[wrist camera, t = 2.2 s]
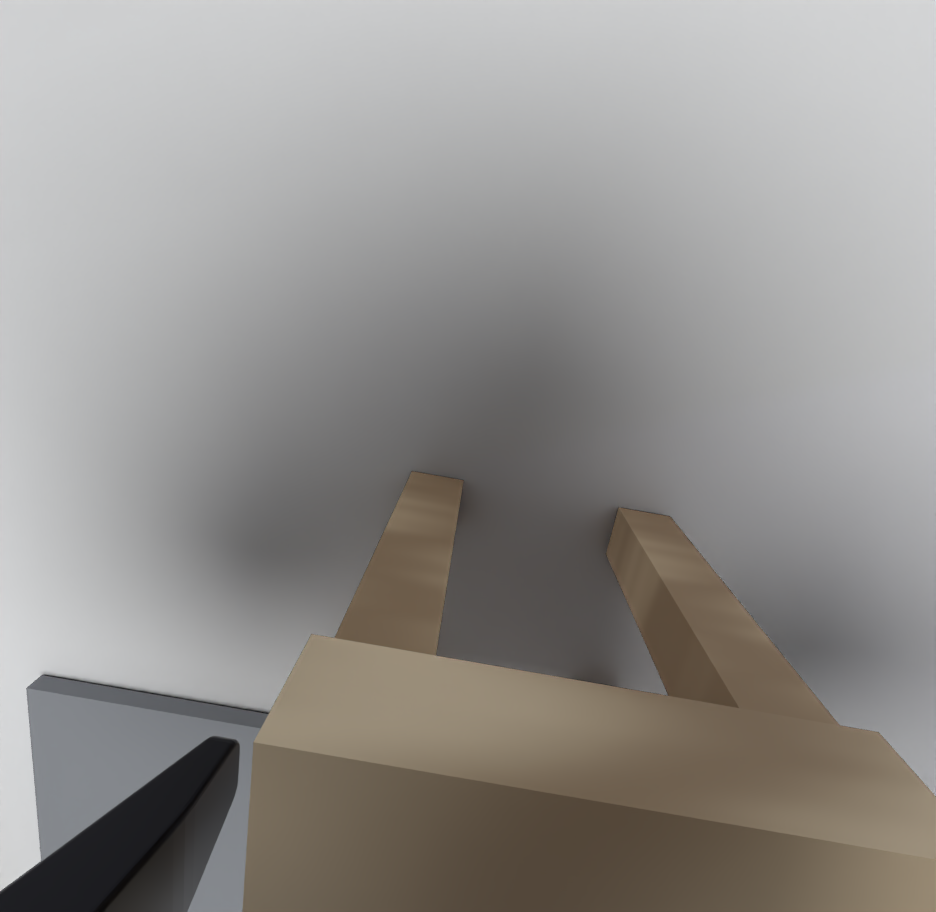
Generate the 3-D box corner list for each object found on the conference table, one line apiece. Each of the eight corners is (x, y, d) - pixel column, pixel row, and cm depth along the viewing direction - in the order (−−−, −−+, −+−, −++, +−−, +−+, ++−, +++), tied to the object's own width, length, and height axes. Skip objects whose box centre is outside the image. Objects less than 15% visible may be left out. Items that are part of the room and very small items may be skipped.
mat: (447, 745, 14) (445, 760, 14) (394, 1008, 18) (391, 1028, 17) (42, 674, 14) (26, 688, 14) (63, 952, 17) (50, 971, 17)
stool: (681, 509, 12) (1001, 870, 5) (612, 732, 14) (757, 1259, 6) (404, 461, 12) (254, 741, 4) (371, 691, 14) (226, 1169, 6)
